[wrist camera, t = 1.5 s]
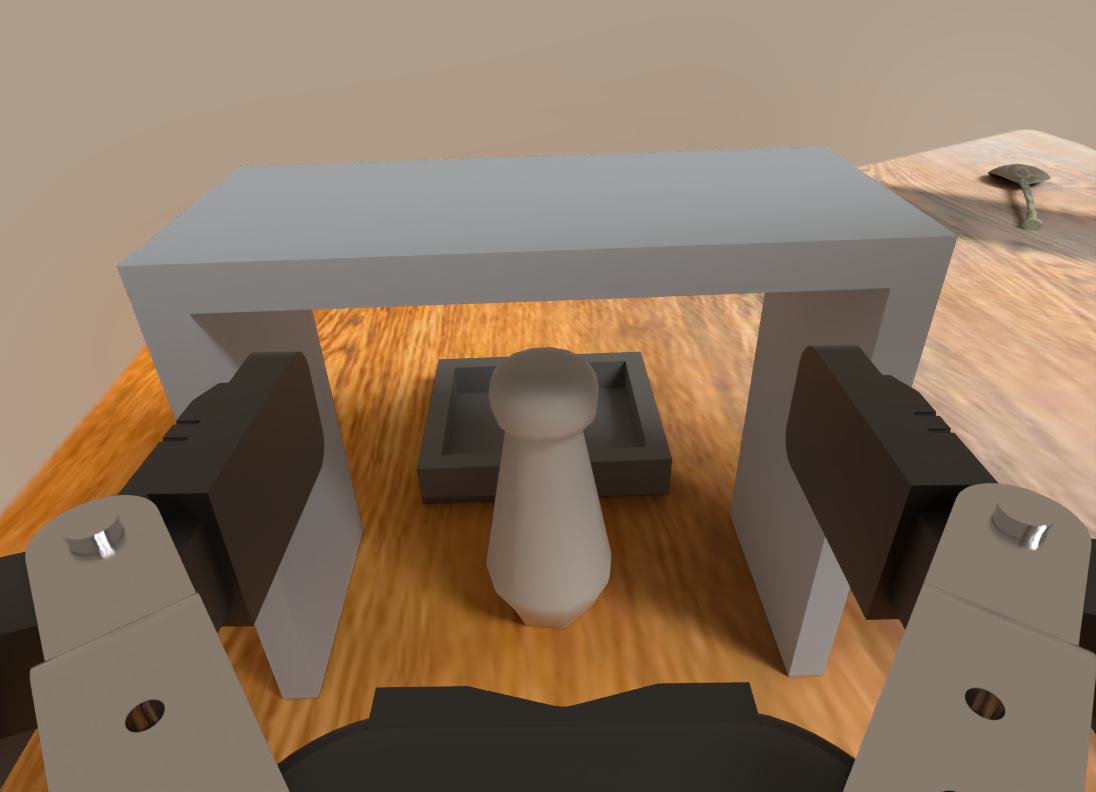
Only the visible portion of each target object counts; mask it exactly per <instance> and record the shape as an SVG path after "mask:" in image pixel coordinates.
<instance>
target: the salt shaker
mask: <svg viewBox="0 0 1096 792" xmlns="http://www.w3.org/2000/svg"><path fill="white" fill-rule="evenodd" d="M598 390H599V386H598V380H597V375H596V372H595V371H594V369H593V368H592V367H591V365H590V364H589V363H588V361H586V360H585V359H584V358H582V357H581V356H579V355H576V354H574V353H572V352H570V351H568V350H563V349H557V348H551V347H545V348H531V349H527V350H524V351H521V352H517V353H514V354H513V355H511V356H510V357H508V358H507V359H506V360H504V361H503V362H502V363H501V364H499V365H498V366H497V367H496V368H495V370H494V372H493V375H492V377H491V379H490V386H489V394H488V395H489V402H490V408H491V410H492V412H493V414H494V416H495V419H496V421H497V423H498V425H499V427H500V428H501V429H503V430H505V435H504V442H503V449H502V456H501V463H500V470H499V477H498V484H497V491H496V498H495V505H494V512H493V519H492V526H491V533H490V540H489V547H488V554H487V561H486V565H487V568H488V572H489V574H490V577H491V580H492V583H493V586H494V589H495V591H496V593H497V594H498V595H499V596H500V597H501V598H502V599H503V600H504V601H505V602H507V603H508V604H509V605H510V606H511V607H512V608H513V609H514V610H515V611H516V612H517V613H518V615H519V616H520V618H521V619H522V620H523V622H524V623H525V625H528V626H538V627H549V628H559V629H565V628H567V627H568V626H569V625H570V624H572V623H573V622H574V621H575V620H576V619H578V618H579V617H580V616H581V615H583V614H584V613H585V612H586V611H587V610H589V609H590V608H591V607H592V606H593V604H594V603H595V601H596V600H597V598H598V597H599V595H600V594H601V592H602V591H603V589H604V588H605V586H606V585H607V583H608V581H609V577H610V567H611V550H610V545H609V541H608V537H607V532H606V528H605V524H604V519H603V515H602V511H601V506H600V502H599V498H598V493H597V489H596V485H595V480H594V476H593V472H592V467H591V463H590V459H589V455H588V450H587V446H586V442H585V437H584V433H583V430H584V429H585V428H586V427H587V426H588V425H589V424H591V423H592V422H593V420H594V418H595V416H596V411H597V402H598Z"/></svg>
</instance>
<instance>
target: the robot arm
mask: <svg viewBox="0 0 1096 792" xmlns="http://www.w3.org/2000/svg"><path fill="white" fill-rule="evenodd" d="M950 429H951V428H950V427H949V426H948V425H947V424H946V423H945V421H944V420H943V419H942V418H941V417H940V416H936V411H935V410H934V409H933V408H932V407H931V405H930V404H929V403H928V402H927V401H926V400H925V399H924V397H923V396H922V395H921V394H920V393H919V392H918V391H916V390H915V389H913V388H911V387H910V386H908V385H906V384H905V383H903V382H901V381H900V380H898V379H896V378H895V377H893V376H892V375H882V374H881V373H880V371H879V370H878V369H877V368H876V367H875V365H874V364H873V363H872V362H871V360H870V359H869V358H868V357H867V356H866V354H865V353H864V352H863V351H862V349H861V348H860V347H858V346H856V345H829V346H807V347H806V348H805V349H804V351H803V353H802V355H801V358H800V362H799V367H798V372H797V377H796V382H795V386H794V391H793V396H792V401H791V406H790V411H789V416H788V421H787V426H786V435H785V443H786V452H787V457H788V461H789V464H790V466H791V468H792V470H793V472H794V474H795V476H796V478H797V480H798V482H799V484H800V486H801V488H802V490H803V492H804V495H805V497H806V499H807V501H808V503H809V505H810V507H811V509H812V511H813V513H814V515H815V517H816V519H817V521H818V523H819V525H820V527H821V529H822V531H823V533H824V535H825V537H826V539H827V541H828V543H829V545H830V547H831V549H832V551H833V553H834V555H835V558H836V560H837V562H838V564H839V566H840V568H841V570H842V572H843V574H844V576H845V578H846V580H847V582H848V584H849V586H850V588H851V590H852V592H853V594H854V596H855V598H856V600H857V602H858V604H859V606H860V608H861V610H862V612H863V614H864V616H865V618H866V620H879V619H900V621H901V623H902V625H903V627H904V628H905V632H904V635H903V638H902V640H901V643H900V645H899V648H898V651H897V653H896V656H895V658H894V661H893V664H892V666H891V669H890V671H889V674H888V677H887V679H886V682H885V684H884V687H883V689H882V692H881V695H880V697H879V700H878V702H877V705H876V708H875V710H874V713H873V715H872V718H871V721H870V723H869V726H868V728H867V731H866V733H865V736H864V739H863V741H862V744H861V746H860V749H859V752H858V754H857V757H856V759H855V758H853V757H852V756H850V755H849V754H848V753H846V752H845V751H843V750H842V749H840V748H839V747H837V746H836V745H834V744H832V743H831V742H829V741H827V740H825V739H824V738H822V737H820V736H818V735H817V734H815V733H812V732H810V731H808V730H806V729H804V728H801V727H799V726H797V725H795V724H792V723H789V722H787V721H784V720H781V719H778V718H775V717H772V716H768V715H764V714H760V713H758V711H757V708H756V704H755V701H754V697H753V694H752V690H751V687H750V684H749V682H733V683H663V684H654V685H650V686H646V687H642V688H639V689H635V690H631V691H627V692H623V693H619V694H615V695H612V696H608V697H604V698H600V699H596V700H592V701H588V702H585V703H581V704H577V705H573V706H567V707H559V706H552V705H548V704H544V703H539V702H535V701H530V700H526V699H522V698H517V697H513V696H508V695H504V694H500V693H495V692H491V691H486V690H482V689H478V688H473V687H469V686H451V687H381V688H376V690H375V695H374V699H373V704H372V708H371V712H370V717H369V719H365V720H361V721H358V722H355V723H352V724H349V725H347V726H344V727H341V728H339V729H336V730H333V731H331V732H329V733H327V734H325V735H323V736H321V737H319V738H317V739H315V740H313V741H311V742H310V743H308V744H306V745H305V746H303V747H302V748H300V749H298V750H297V751H295V752H294V753H292V754H290V755H289V756H288V757H286V758H285V759H284V760H282V761H281V762H280V763H278V764H277V763H276V761H275V759H274V757H273V755H272V752H271V750H270V748H269V746H268V744H267V741H266V739H265V737H264V735H263V733H262V731H261V728H260V726H259V724H258V722H257V720H256V717H255V715H254V713H253V711H252V709H251V706H250V704H249V702H248V700H247V698H246V696H245V693H244V691H243V689H242V687H241V685H240V682H239V680H238V678H237V676H236V674H235V672H234V669H233V667H232V665H231V663H230V661H229V658H228V656H227V654H226V652H225V650H224V647H223V645H222V643H221V641H220V639H219V637H218V632H219V630H220V628H221V626H254V624H255V621H256V619H257V617H258V614H259V612H260V610H261V607H262V605H263V603H264V601H265V598H266V596H267V594H268V591H269V589H270V587H271V584H272V582H273V580H274V577H275V575H276V573H277V570H278V568H279V566H280V563H281V561H282V559H283V556H284V554H285V552H286V549H287V547H288V545H289V542H290V540H291V538H292V536H293V533H294V531H295V529H296V526H297V524H298V522H299V519H300V517H301V515H302V512H303V510H304V508H305V505H306V503H307V501H308V498H309V496H310V494H311V491H312V489H313V487H314V484H315V482H316V480H317V478H318V475H319V473H320V470H321V468H322V464H323V458H324V434H323V429H322V424H321V420H320V415H319V410H318V406H317V401H316V397H315V392H314V388H313V383H312V379H311V374H310V369H309V365H308V362H307V359H306V357H305V356H304V354H303V353H302V352H299V351H297V352H252V353H251V354H250V355H249V356H248V357H247V358H246V360H245V361H244V362H243V364H242V365H241V367H240V368H239V369H238V371H237V372H236V373H235V375H234V376H233V377H232V379H231V380H230V381H229V383H218V384H217V385H215V386H214V387H212V388H210V389H209V390H207V391H206V392H204V393H203V394H201V395H200V396H198V397H197V398H195V399H194V400H192V401H191V403H190V404H189V405H188V406H187V408H186V409H185V410H184V412H183V413H182V414H181V415H180V417H179V418H178V419H177V420H176V425H172V427H171V428H170V429H169V431H168V432H167V433H166V434H165V436H164V437H163V442H159V443H158V444H157V446H156V447H155V448H154V450H153V451H152V452H151V453H150V455H149V456H148V457H147V458H146V460H145V461H144V462H143V463H142V465H141V466H140V467H139V469H138V470H137V471H136V472H135V474H134V475H133V476H132V477H131V479H130V480H129V481H128V482H127V484H126V485H125V486H124V488H123V489H122V490H121V491H120V493H119V494H118V495H117V496H110V497H104V498H100V499H95V500H92V501H89V502H86V503H83V504H81V505H78V506H76V507H74V508H72V509H70V510H68V511H66V512H64V513H62V514H60V515H59V516H57V517H55V518H54V519H52V520H51V521H50V522H48V523H47V524H46V525H45V526H43V527H42V528H41V529H40V530H39V531H38V532H37V533H36V534H35V536H34V537H33V538H32V539H31V541H30V543H29V545H28V546H27V550H26V552H22V553H18V554H13V555H9V556H4V557H0V789H1V787H2V785H3V784H4V782H5V780H6V779H7V777H8V775H9V774H10V772H11V770H12V769H13V767H14V765H15V763H16V762H17V760H18V758H19V757H20V755H21V753H22V752H23V750H24V748H25V747H26V745H27V743H28V741H29V740H30V738H31V736H32V735H33V733H34V731H35V730H36V729H37V728H38V731H39V737H40V743H41V749H42V755H43V761H44V767H45V773H46V779H47V785H48V791H49V792H1084V790H1085V780H1086V770H1087V760H1088V750H1089V740H1090V730H1091V727H1092V729H1093V730H1094V732H1095V734H1096V539H1092V538H1091V537H1090V534H1089V532H1088V530H1087V529H1086V527H1085V525H1084V524H1083V523H1082V522H1081V521H1080V520H1079V519H1078V518H1077V517H1076V516H1075V515H1074V514H1073V513H1072V512H1070V511H1069V510H1068V509H1066V508H1065V507H1063V506H1062V505H1060V504H1059V503H1057V502H1055V501H1053V500H1052V499H1050V498H1047V497H1045V496H1043V495H1041V494H1039V493H1036V492H1033V491H1030V490H1027V489H1024V488H1020V487H1016V486H1012V485H1006V484H999V483H998V482H997V481H996V480H995V479H994V478H993V477H992V475H991V474H990V473H989V472H988V471H987V470H986V468H985V467H984V466H983V465H982V464H981V463H980V462H979V460H978V459H977V458H976V457H975V456H974V455H973V454H972V452H971V451H970V450H969V449H968V448H967V447H966V446H965V444H964V443H963V442H962V441H961V440H960V439H959V438H958V436H957V435H956V434H955V433H951V432H950Z"/></svg>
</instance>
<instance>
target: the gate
mask: <svg viewBox="0 0 1096 792" xmlns="http://www.w3.org/2000/svg"><path fill="white" fill-rule="evenodd" d="M957 237H958V236H957V235H955V234H954V233H952V232H951V231H950V230H948V229H947V228H945V227H944V226H942V225H941V224H939V223H938V222H936V221H935V220H933V219H932V218H930V217H929V216H927V215H926V214H924V213H923V212H921V211H920V210H918V209H917V208H916V207H914V206H913V205H911V204H910V203H908V202H907V201H905V200H904V199H902V198H901V197H899V196H898V195H896V194H895V193H893V192H892V191H890V190H889V189H887V188H886V187H884V186H883V185H882V184H880V183H879V182H877V181H876V180H874V179H873V178H871V177H870V176H868V175H867V174H865V173H864V172H862V171H861V170H859V169H858V168H856V167H855V166H853V165H852V164H850V163H849V162H847V161H846V160H844V159H843V158H842V157H840V156H839V155H837V154H836V153H834V152H833V151H831V150H830V149H828V148H827V147H798V148H772V149H771V148H768V149H740V150H711V151H710V150H709V151H680V152H651V153H622V154H594V155H593V154H592V155H563V156H534V157H504V158H475V159H446V160H416V161H388V162H359V163H332V164H331V163H328V164H300V165H269V166H241V167H239V168H238V169H237V170H235V171H234V172H233V173H232V174H230V175H229V176H228V177H227V178H225V179H224V180H223V181H222V182H220V183H219V184H218V185H217V186H215V187H214V188H213V189H212V190H211V191H209V192H208V193H207V194H206V195H204V196H203V197H202V198H201V199H199V200H198V201H197V202H196V203H194V204H193V205H192V206H191V207H189V208H188V209H187V210H186V211H185V212H184V213H182V214H181V215H180V216H178V217H177V218H176V219H175V220H173V221H172V222H171V223H170V224H168V225H167V226H166V227H165V228H163V229H162V230H161V231H160V232H158V233H157V234H156V235H155V236H154V237H152V238H151V239H150V240H149V241H147V242H146V243H145V244H144V245H143V246H141V247H140V248H139V249H137V250H136V251H135V252H134V253H132V254H131V255H130V256H129V257H128V258H126V259H125V260H124V261H123V262H121V263H120V264H119V265H118V266H117V268H118V271H119V274H120V276H121V278H122V281H123V284H124V287H125V289H126V292H127V294H128V297H129V300H130V302H131V304H132V307H133V310H134V313H135V315H136V318H137V320H138V323H139V325H140V328H141V331H142V333H143V336H144V339H145V341H146V344H147V346H148V349H149V352H150V354H151V357H152V359H153V362H154V365H155V367H156V370H157V372H158V375H159V378H160V380H161V383H162V385H163V388H164V391H165V393H166V396H167V398H168V401H169V404H170V406H171V409H172V411H173V414H174V417H175V419H176V420H177V419H178V418H179V417H180V415H181V414H182V413H183V412H184V410H185V409H186V408H187V406H188V405H189V404H190V403H191V401H192V400H194V399H195V398H197V397H198V396H200V395H201V394H203V393H204V392H206V391H207V390H209V389H210V388H212V387H214V386H215V385H217V384H218V383H229V381H230V380H231V379H232V377H233V376H234V375H235V373H236V372H237V371H238V369H239V368H240V367H241V365H242V364H243V362H244V361H245V360H246V358H247V357H248V356H249V355H250V354H251V353H252V352H297V351H299V352H302V353H303V354H304V356H305V357H306V359H307V362H308V365H309V369H310V374H311V379H312V383H313V388H314V392H315V397H316V401H317V406H318V410H319V415H320V420H321V424H322V429H323V434H324V458H323V464H322V468H321V470H320V473H319V475H318V478H317V480H316V482H315V484H314V487H313V489H312V491H311V494H310V496H309V498H308V501H307V503H306V505H305V508H304V510H303V512H302V515H301V517H300V519H299V522H298V524H297V526H296V529H295V531H294V533H293V536H292V538H291V540H290V542H289V545H288V547H287V549H286V552H285V554H284V556H283V559H282V561H281V563H280V566H279V568H278V570H277V573H276V575H275V577H274V580H273V582H272V584H271V587H270V589H269V591H268V594H267V596H266V598H265V601H264V603H263V605H262V607H261V610H260V612H259V614H258V617H257V619H256V621H255V624H254V625H255V627H256V630H257V633H258V635H259V638H260V640H261V643H262V646H263V648H264V651H265V654H266V656H267V659H268V661H269V664H270V667H271V669H272V672H273V674H274V677H275V680H276V682H277V685H278V687H279V690H280V693H281V695H282V698H283V699H297V698H319V694H320V691H321V687H322V683H323V679H324V676H325V672H326V668H327V664H328V661H329V657H330V653H331V649H332V646H333V642H334V638H335V634H336V631H337V627H338V623H339V619H340V616H341V612H342V608H343V604H344V601H345V597H346V593H347V589H348V586H349V582H350V578H351V574H352V571H353V567H354V563H355V559H356V556H357V552H358V548H359V544H360V541H361V537H362V533H363V528H362V524H361V519H360V515H359V511H358V506H357V502H356V498H355V493H354V489H353V485H352V480H351V476H350V472H349V467H348V463H347V459H346V454H345V450H344V446H343V441H342V437H341V433H340V428H339V424H338V420H337V415H336V411H335V407H334V402H333V398H332V394H331V389H330V385H329V381H328V376H327V372H326V367H325V363H324V359H323V354H322V350H321V346H320V341H319V337H318V333H317V328H316V324H315V320H314V315H313V311H312V310H313V309H340V308H367V307H394V306H421V305H448V304H475V303H502V302H529V301H556V300H583V299H610V298H637V297H664V296H692V295H719V294H746V293H765V295H764V302H763V308H762V315H761V321H760V327H759V334H758V340H757V346H756V353H755V359H754V366H753V372H752V378H751V385H750V391H749V397H748V404H747V410H746V417H745V423H744V429H743V436H742V442H741V448H740V455H739V461H738V468H737V474H736V480H735V487H734V493H733V500H732V506H731V512H730V517H731V520H732V522H733V525H734V528H735V531H736V533H737V536H738V539H739V542H740V544H741V547H742V550H743V553H744V555H745V558H746V561H747V564H748V566H749V569H750V572H751V575H752V577H753V580H754V583H755V586H756V588H757V591H758V594H759V597H760V599H761V602H762V605H763V608H764V610H765V613H766V616H767V619H768V621H769V624H770V627H771V630H772V632H773V635H774V638H775V641H776V643H777V646H778V649H779V651H780V654H781V657H782V660H783V662H784V665H785V668H786V671H787V673H788V676H789V677H790V676H812V675H824V672H825V669H826V665H827V662H828V659H829V655H830V652H831V649H832V646H833V642H834V639H835V636H836V633H837V629H838V626H839V623H840V619H841V616H842V613H843V610H844V606H845V603H846V600H847V597H848V593H849V590H850V586H849V584H848V582H847V580H846V578H845V576H844V574H843V572H842V570H841V568H840V566H839V564H838V562H837V560H836V558H835V555H834V553H833V551H832V549H831V547H830V545H829V543H828V541H827V539H826V537H825V535H824V533H823V531H822V529H821V527H820V525H819V523H818V521H817V519H816V517H815V515H814V513H813V511H812V509H811V507H810V505H809V503H808V501H807V499H806V497H805V495H804V492H803V490H802V488H801V486H800V484H799V482H798V480H797V478H796V476H795V474H794V472H793V470H792V468H791V466H790V464H789V461H788V457H787V452H786V443H785V435H786V426H787V421H788V416H789V411H790V406H791V401H792V396H793V391H794V386H795V382H796V377H797V372H798V367H799V362H800V358H801V355H802V353H803V351H804V349H805V348H806V347H807V346H829V345H856V346H858V347H860V348H861V349H862V351H863V352H864V353H865V354H866V356H867V357H868V358H869V359H870V360H871V362H872V363H873V364H874V365H875V367H876V368H877V369H878V370H879V371H880V373H881V374H882V375H892V376H893V377H895V378H896V379H898V380H900V381H901V382H903V383H905V384H906V385H908V386H910V387H912V384H913V381H914V377H915V374H916V371H917V367H918V364H919V361H920V358H921V354H922V351H923V348H924V345H925V341H926V338H927V335H928V331H929V328H930V325H931V322H932V318H933V315H934V312H935V309H936V305H937V302H938V299H939V295H940V292H941V289H942V286H943V282H944V279H945V276H946V273H947V269H948V266H949V263H950V259H951V256H952V253H953V250H954V246H955V243H956V240H957Z"/></svg>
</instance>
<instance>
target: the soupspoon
mask: <svg viewBox="0 0 1096 792" xmlns="http://www.w3.org/2000/svg"><path fill="white" fill-rule="evenodd" d="M988 174H989V175H999V176H1002V177H1004V178H1007V179H1009V180H1011V181H1013V182H1016V183H1018V184H1019V185H1020V186H1021V188H1022V190H1023V193H1024V196H1025V199H1026V203H1027V207H1028V212H1027V213H1026V215H1027V217H1026V220H1025V221H1024V222H1023V223H1022V225H1021V228H1022V229H1029V230H1039V229H1040V228H1041V227H1042V223H1041V221H1040V220H1038V219H1037V216H1036V215H1037V212H1036V211H1035V204H1034V200H1033V196H1032V193H1031V189H1030V186H1029V184H1033V183H1038V182H1041V181H1044V180H1048V179H1050V176H1049V175H1048V174H1047V173H1045V172H1044V171H1042V170H1040V169H1038V168H1036V167H1033V166H1029V165H1023V164H1012V165H1005V166H1001V167H998V168H995V169H993V170H991V171H989V172H988Z"/></svg>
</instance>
